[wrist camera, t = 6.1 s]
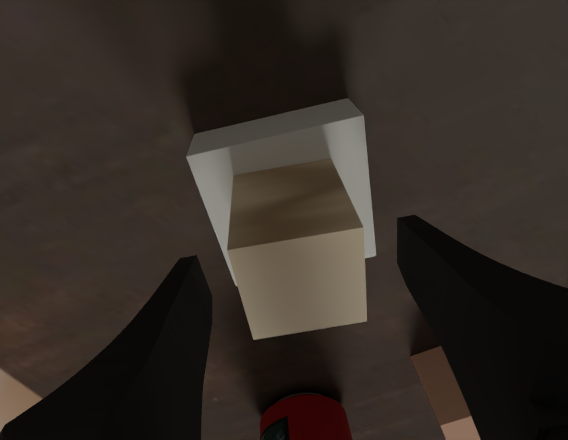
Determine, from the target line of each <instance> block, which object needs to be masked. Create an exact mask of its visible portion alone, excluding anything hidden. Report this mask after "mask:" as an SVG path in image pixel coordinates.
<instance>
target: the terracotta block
mask: <svg viewBox="0 0 568 440" xmlns="http://www.w3.org/2000/svg"><path fill="white" fill-rule="evenodd" d="M410 358H411V360H412V362H413V365H414V367H415V370H416V372H417V374H418V377H419V379H420V382H421V384H422V386H423V389H424V391H425V393H426V395H427V398H428V400H429V402H430V405H431V407H432V409H433V411H434V414H435V416H436V418H437V421H438V423H439V425H440V427H441V430H442V432H443V434H444V436H445V439H446V440H481V439H480V437H479V434H478V432H477V429H476V427H475V424H474V422H473V419H472V417H471V414H470V412H469V409H468V407H467V404H466V402H465V400H464V397H463V395H462V392H461V390H460V388H459V385H458V383H457V381H456V378H455V376H454V374H453V372H452V369H451V367H450V365H449V363H448V360H447V358H446V356H445V354H444V351H443V349H442V347H441V346H439V347H436V348H433V349H430V350H427V351H425V352H422V353H419V354H416V355H413V356H410Z"/></svg>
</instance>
